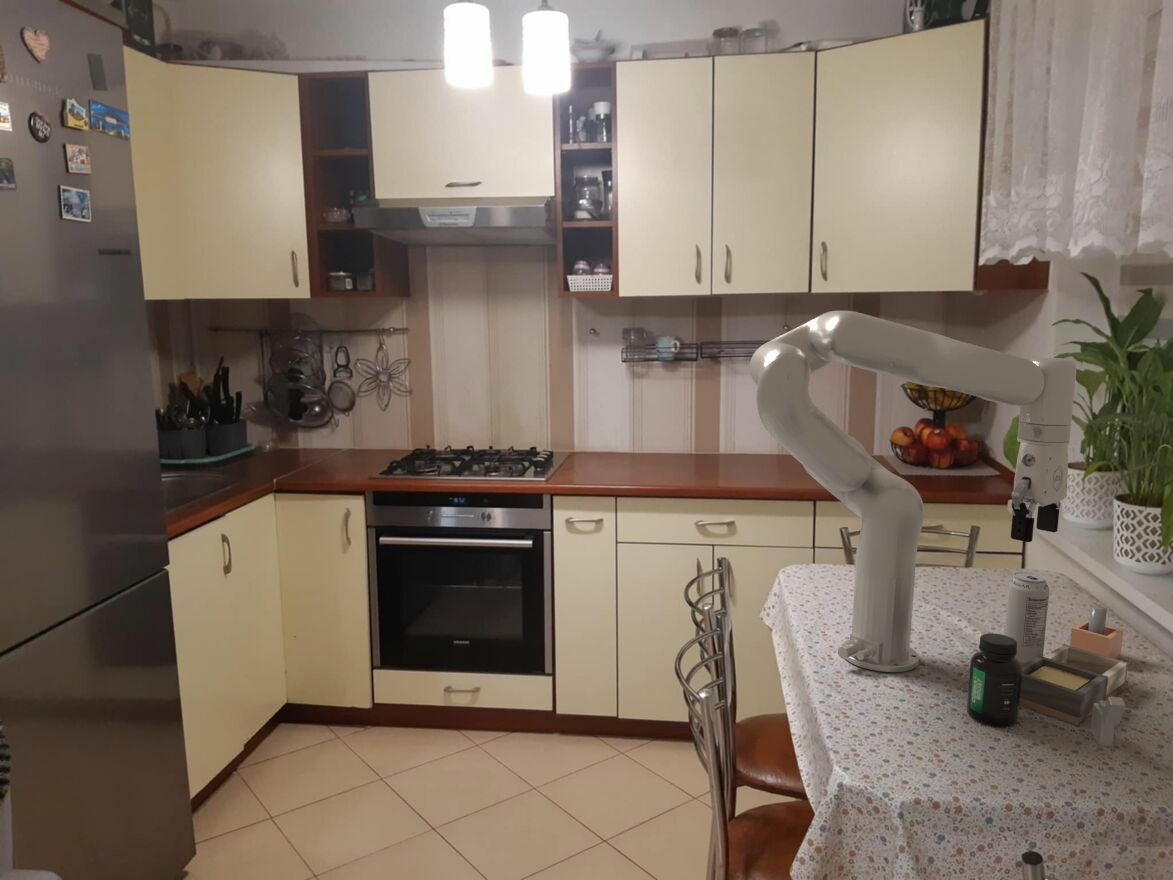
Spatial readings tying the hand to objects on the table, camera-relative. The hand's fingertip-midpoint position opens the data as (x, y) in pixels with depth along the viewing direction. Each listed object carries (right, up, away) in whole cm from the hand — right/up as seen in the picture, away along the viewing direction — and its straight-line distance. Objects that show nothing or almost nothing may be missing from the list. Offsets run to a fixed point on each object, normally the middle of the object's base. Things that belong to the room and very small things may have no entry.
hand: (1034, 535), depth 139 cm
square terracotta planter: (+13, -22, +6) cm, 26 cm away
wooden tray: (+1, -24, -9) cm, 25 cm away
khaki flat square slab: (-3, -22, -12) cm, 25 cm away
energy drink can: (0, -22, +3) cm, 22 cm away
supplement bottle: (-15, -25, -16) cm, 33 cm away
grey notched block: (-3, -26, -24) cm, 36 cm away
